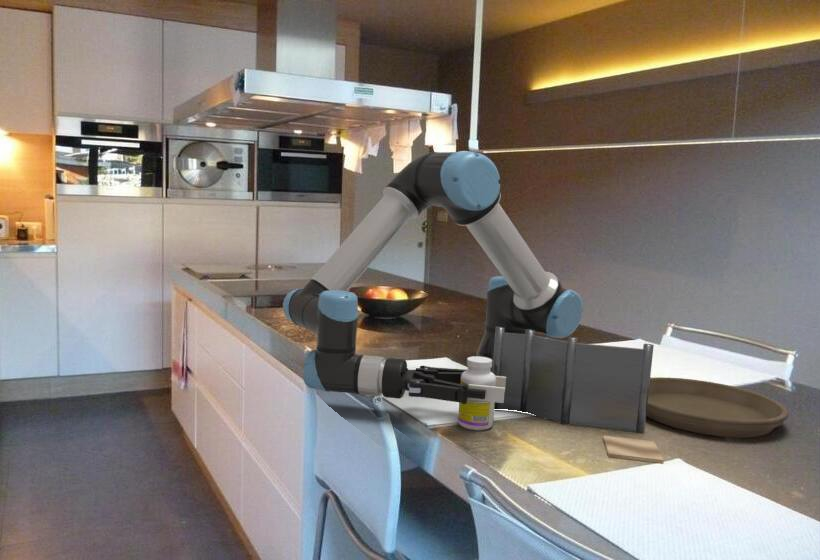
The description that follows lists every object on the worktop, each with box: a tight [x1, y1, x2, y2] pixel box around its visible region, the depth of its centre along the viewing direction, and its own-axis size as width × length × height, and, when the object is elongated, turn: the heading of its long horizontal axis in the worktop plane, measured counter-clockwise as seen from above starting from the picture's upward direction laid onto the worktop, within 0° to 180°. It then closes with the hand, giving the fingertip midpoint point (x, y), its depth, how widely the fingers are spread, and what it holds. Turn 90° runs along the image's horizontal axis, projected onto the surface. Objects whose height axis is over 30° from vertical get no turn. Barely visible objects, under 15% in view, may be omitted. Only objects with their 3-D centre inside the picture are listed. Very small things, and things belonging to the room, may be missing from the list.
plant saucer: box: [646, 376, 789, 439], centre depth 143 cm, size 31×31×5 cm
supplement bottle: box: [457, 355, 496, 431], centre depth 128 cm, size 7×7×13 cm
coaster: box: [602, 435, 665, 464], centre depth 120 cm, size 9×9×1 cm
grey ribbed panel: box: [491, 327, 654, 434], centre depth 134 cm, size 6×30×17 cm, turn 80°
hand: (504, 389), depth 127 cm, fingers open, 7 cm apart
